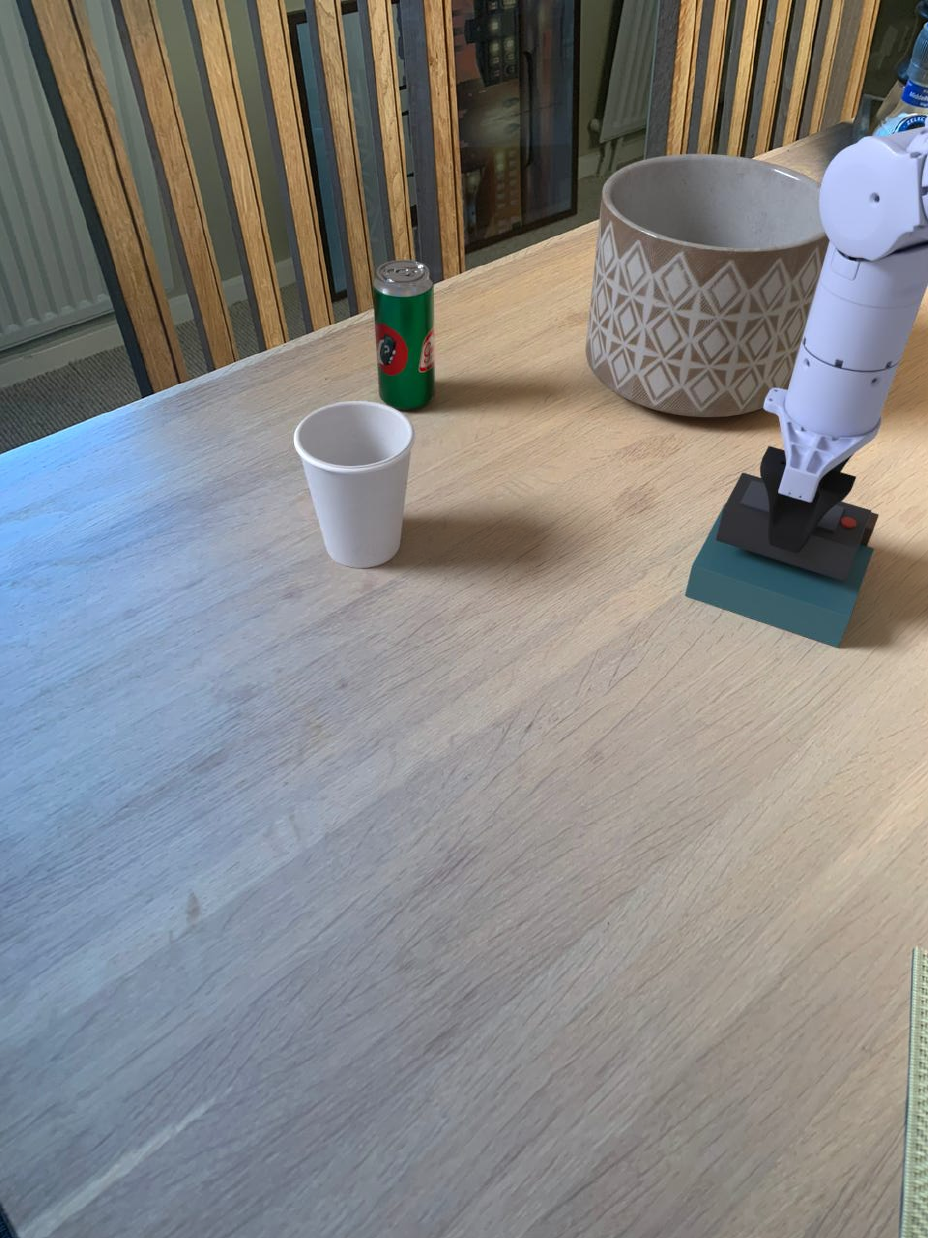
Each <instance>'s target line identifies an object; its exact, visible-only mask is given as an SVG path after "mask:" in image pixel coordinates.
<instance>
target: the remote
mask: <svg viewBox="0 0 928 1238" xmlns="http://www.w3.org/2000/svg"><path fill="white" fill-rule="evenodd" d="M725 503H726V504H725ZM725 503H724V505H725V506H724V505H723V506H724V508H723V507H722V508H723V512H722V516H721V520H720V524H719V528H718V532H717V536H716V541H719V542H723V543H726V544H729V545H732V546H735V547H738V548H741V549H744V550H748V551H751V552H754V553H757V554H760V555H763V556H766V557H769V558H773V559H776V560H779V561H782V562H785V563H788V564H791V565H795V566H798V567H801V568H804V569H807V570H810V571H813V572H816V573H820V574H823V575H826V576H829V577H832V578H835V579H838V580H841V581H845V580H846V578H847V575H848V573H849V570H850V567H851V565H852V562H853V560H854V557H855V555H856V552H857V550H858V547H859V544H860V541H861V539H862V536H863V533H864V530H865V528H866V525H867V522H868V519H869V516H870V514H871V512H872V510H871V509H869V508H865V507H863V506H858V505H855V504H852V503H848V502H845V501H843V500H842V501H841V502H839V503H838V504H836V505H835V506H834V507H832V508H831V509H830V510H829V511H828V512H827V513H826V514H825V515H824V517H823V518H822V519H821V520H820V522H819V523H818V525H817V527H816V528H815V530H814V532H813V533H812V535H811V537H810V538H809V540H808V542H807V543H806V544H805V546H804V547H803V548H802V550H801V551H800V552H799V553H794V552H791V551H788V550H785V549H781V548H778V547H775V546H772V545H770V544H769V538H768V522H769V502H768V496H767V491H766V488H765V485H764V482H763V480H762V478H761V476H760V477H759V476H757V475H753V474H749V473H746V472H741V474H740V476H739V478H738V479H737V481H736V483H735V485H734V487H733V488H732V490H731V492H730V495H729V496H728V498H727V500H726V502H725Z"/></svg>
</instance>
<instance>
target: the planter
mask: <svg viewBox="0 0 928 1238" xmlns="http://www.w3.org/2000/svg"><path fill="white" fill-rule="evenodd" d="M820 188H821V183H820V182H819V181H817V180H815V179H813V178H812V177H810V176H808V175H806V174H804V173H801V172H799V171H797V170H793V169H792V168H788V167H786V166H782V165H779V164H777V163H772V162H768V161H764V160H759V159H755V158H749V157H744V156H736V155H728V154H727V155H726V154H714V153H713V154H712V153H682V154H670V155H669V154H668V155H663V156H661V155H660V156H656V157H652V158H646V159H642V160H639V161H636V162H633V163H630V164H627V165H626V166H623V167H622V168H620V169H618V170H616V171H615V172H614V173H613V174H611V175H610V176H609V177H608V178H607V180H606V181H605V183H604V185H603V186H602V193H601V202H600V210H599V211H600V212H599V220H598V228H597V237H596V238H597V239H596V247H595V255H594V266H593V275H592V283H591V293H590V302H589V311H588V320H587V321H588V322H587V329H586V340H585V357H586V361H587V364H588V366H589V368H590V370H591V372H592V373H593V374H594V375H595V377H596V378H597V379H598V380H599V381H600V383H602V384H603V385H604V386H605V387H607V388H608V389H609V390H610V391H612V392H613V393H615V394H617V395H618V396H620V397H622V398H623V399H625V400H628V401H630V402H632V403H635V404H637V405H639V406H642V407H645V408H648V409H652V410H654V411H657V412H662V413H665V414H666V413H667V414H672V415H678V416H684V417H696V418H720V417H721V418H723V417H732V416H738V415H739V416H740V415H745V414H747V413H752V412H755V411H758V410H761V409H764V408H763V405H764V402H765V398H766V396H767V394H768V393H769V391H770V390H771V389H772V388H781V389H786V390H788V387H789V384H790V380H791V377H792V373H793V370H794V366H795V363H796V359H797V355H798V352H799V349H800V345H801V341H802V338H803V334H804V331H805V327H806V323H807V320H808V316H809V313H810V309H811V306H812V302H813V299H814V295H815V291H816V288H817V284H818V281H819V277H820V273H821V270H822V266H823V263H824V259H825V256H826V252H827V248H828V245H829V241H830V240H829V238H828V236H827V235H826V233H825V230H824V228H823V225H822V222H821V217H820V211H819V194H820Z"/></svg>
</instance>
